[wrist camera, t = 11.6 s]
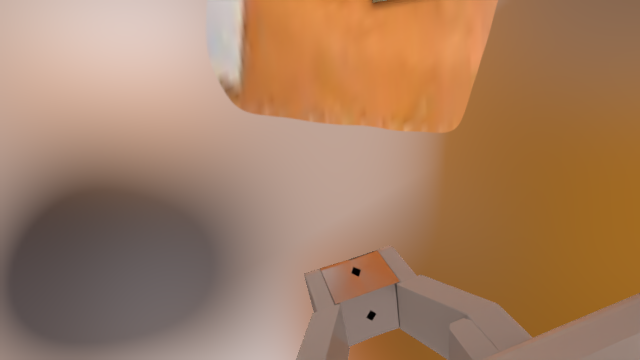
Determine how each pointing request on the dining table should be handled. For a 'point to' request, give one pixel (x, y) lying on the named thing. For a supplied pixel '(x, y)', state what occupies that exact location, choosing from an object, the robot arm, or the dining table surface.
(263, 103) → the dining table surface
